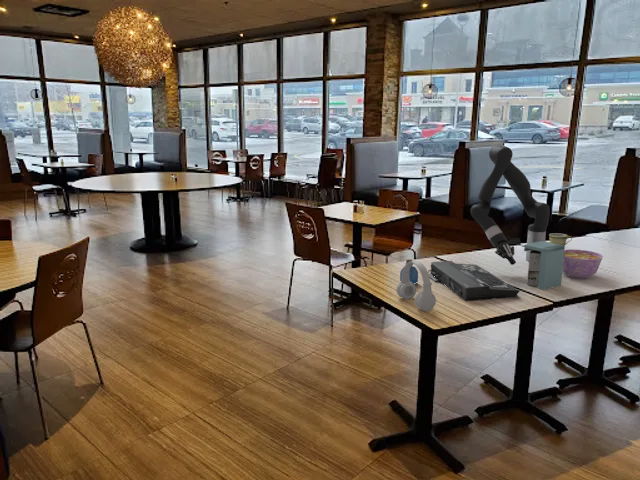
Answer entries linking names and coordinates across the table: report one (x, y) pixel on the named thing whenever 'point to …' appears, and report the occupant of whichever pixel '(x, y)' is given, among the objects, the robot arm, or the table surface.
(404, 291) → the headphones
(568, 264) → the bowl of food
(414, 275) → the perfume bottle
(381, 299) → the table surface
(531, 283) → the coffee box
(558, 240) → the ceramic cup
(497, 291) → the vintage computer
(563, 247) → the bracket
